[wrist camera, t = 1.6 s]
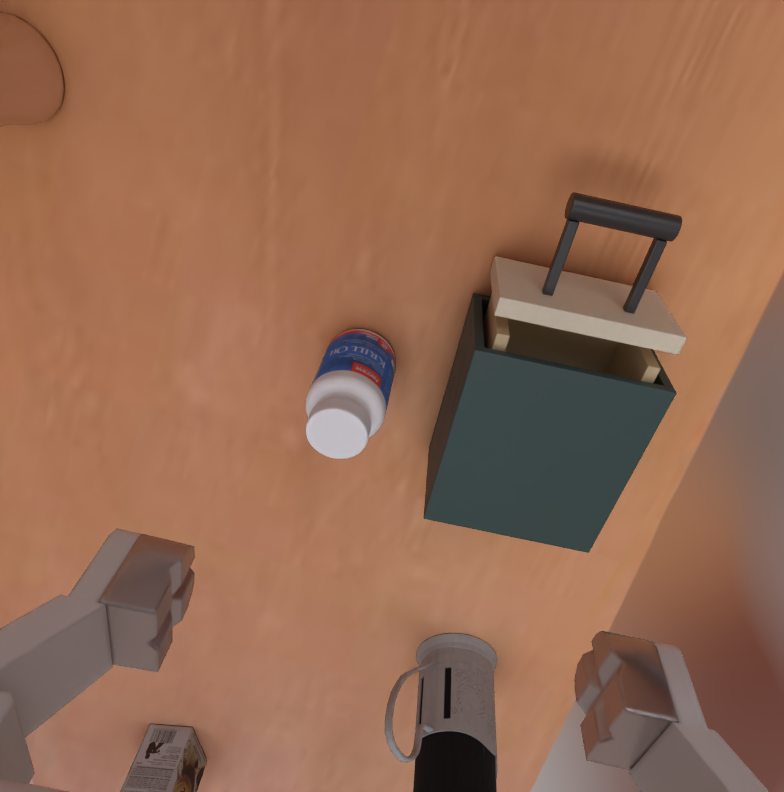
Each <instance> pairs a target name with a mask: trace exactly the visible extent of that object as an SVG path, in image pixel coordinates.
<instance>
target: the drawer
mask: <svg viewBox="0 0 784 792" xmlns="http://www.w3.org/2000/svg"><path fill="white" fill-rule="evenodd" d="M565 218H566V219H567V221H566V224H565V226H564V229H563V232H562V235H561V238H560V241H559V243H558V246H557V249H556V252H555V255H554V257H553V260H552V263H551V266H550V268H547V267H543V266H538V265H534V264H529V263H524V262H520V261H515V260H510V259H506V258H501V257H497V256H495V257H494V260H493V264H492V267H491V271H490V276H491V286H492V294H491V298H490V301H489V304H488V308H487V311H486V314H485V317H484V321H483V333H484V347H485V348H490V349H494V350H499V351H504V352H508V353H513V354H518V355H522V356H527V357H532V358H536V359H541V360H546V361H550V362H555V363H560V364H564V365H569V366H574V367H578V368H583V369H588V370H592V371H597V372H602V373H606V374H611V375H616V376H621V377H625V378H630V379H635V380H639V381H644V382H649V383H654V381H655V379H656V377H657V375H658V373H659V371H660V369H661V368H660V366H659V364H658V363H657V361H656V359H655V357H654V355H653V353H652V351H651V349H653V350H658V351H662V352H667V353H672V354H676V355H678V354H679V352H680V350H681V348H682V346H683V344H684V343H685V341H686V339H687V337H686V335H685V334H684V332H683V331H682V329H681V328H680V326H679V325H678V323H677V322H676V320H675V319H674V317H673V316H672V314H671V313H670V311H669V310H668V308H667V306H666V305H665V303H664V302H663V300H662V299H661V297H660V296H659V294H658V293H657V291H653V290H649V289H646V287H647V285H648V283H649V281H650V278H651V276H652V274H653V272H654V270H655V268H656V265H657V263H658V261H659V259H660V257H661V254H662V252H663V250H664V248H665V246H666V244H667V241H673V240H674V239H675V238H676V237H677V235H678V233H679V231H680V228H681V224H682V218H681V216H679V215H674V214H670V213H665V212H661V211H656V210H651V209H647V208H642V207H638V206H633V205H629V204H624V203H620V202H615V201H611V200H606V199H601V198H597V197H592V196H588V195H583V194H579V193H572V194H571V195H570V197H569V200H568V202H567V205H566V209H565ZM579 222H584V223H588V224H593V225H597V226H602V227H606V228H611V229H616V230H620V231H625V232H629V233H634V234H638V235H643V236H648V237H652V238H654V239H653V241H652V244H651V246H650V248H649V250H648V253H647V255H646V257H645V259H644V262H643V264H642V266H641V268H640V270H639V273H638V275H637V277H636V279H635V282H634V284H633V286H630V285H626V284H621V283H616V282H612V281H607V280H603V279H598V278H593V277H589V276H584V275H580V274H575V273H570V272H566V271H562V269H563V266H564V263H565V261H566V258H567V255H568V252H569V250H570V247H571V244H572V242H573V239H574V236H575V233H576V231H577V228H578V225H579Z"/></svg>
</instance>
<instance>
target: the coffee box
mask: <svg viewBox="0 0 784 792" xmlns="http://www.w3.org/2000/svg"><path fill="white" fill-rule="evenodd" d="M206 762H207V760H206V758H205V756H204V753H203V751H202V749H201V746H200V744H199V742H198V740H197V737H196V735H195V733H194V730H193V728H192V727H181V726H168V725H156V724H150V725H149V727H148V730H147V732H146V734H145V737H144V739H143V741H142V744H141V746H140V748H139V750H138V753H137V755H136V757H135V759H134V762H133V764H132V766H131V768H130V771H129V773H128V775H127V777H126V780H125V782H124V784H123V786H122V789H121V791H120V792H197V789H198V786H199V783H200V780H201V778H202V775H203V771H204V768H205V766H206Z"/></svg>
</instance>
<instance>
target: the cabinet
mask: <svg viewBox="0 0 784 792" xmlns="http://www.w3.org/2000/svg"><path fill="white" fill-rule="evenodd" d="M490 298H491V297H488V296H483V295H479V294H473V296H472V299H471V303H470V306H469V310H468V313H467V317H466V320H465V324H464V327H463V331H462V334H461V338H460V341H459V345H458V348H457V352H456V355H455V359H454V362H453V366H452V369H451V373H450V376H449V380H448V383H447V387H446V390H445V394H444V397H443V401H442V404H441V408H440V411H439V415H438V418H437V422H436V425H435V429H434V432H433V436H432V439H431V443H430V446H429V455H428V468H427V481H426V494H425V507H424V519H429V520H433V521H438V522H443V523H448V524H453V525H458V526H462V527H467V528H472V529H477V530H482V531H486V532H491V533H496V534H501V535H506V536H510V537H515V538H520V539H525V540H530V541H535V542H539V543H544V544H549V545H554V546H559V547H563V548H568V549H573V550H578V551H583V552H588V553H589V551H590V549H591V548H592V546H593V544H594V542H595V540H596V538H597V537H598V535H599V533H600V531H601V529H602V528H603V526H604V524H605V522H606V520H607V518H608V517H609V515H610V513H611V511H612V509H613V508H614V506H615V504H616V502H617V500H618V499H619V497H620V495H621V493H622V491H623V489H624V488H625V486H626V484H627V482H628V480H629V479H630V477H631V475H632V473H633V471H634V469H635V468H636V466H637V464H638V462H639V460H640V459H641V457H642V455H643V453H644V451H645V449H646V448H647V446H648V444H649V442H650V440H651V439H652V437H653V435H654V433H655V431H656V429H657V428H658V426H659V424H660V422H661V420H662V419H663V417H664V415H665V413H666V411H667V409H668V408H669V406H670V404H671V402H672V400H673V399H674V397H675V395H676V391H675V389H674V388H673V386H672V384H671V382H670V380H669V378H668V377H667V375H666V373H665V371H664V369H663V367H662V365H661V364H660V362H659V360H658V358H657V356H656V354H655V352H654V351H653V349H651V351H652V353H653V355H654V357H655V359H656V361H657V363H658V364H659V366H660V368H661V369H660V371H659V373H658V375H657V377H656V379H655V381H654V383H649V382H644V381H639V380H635V379H630V378H625V377H621V376H616V375H611V374H606V373H602V372H597V371H592V370H588V369H583V368H578V367H574V366H569V365H564V364H560V363H555V362H550V361H546V360H541V359H536V358H532V357H527V356H522V355H518V354H513V353H508V352H504V351H499V350H494V349H490V348H485V347H484V333H483V321H484V317H485V314H486V311H487V308H488V304H489V301H490Z"/></svg>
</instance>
